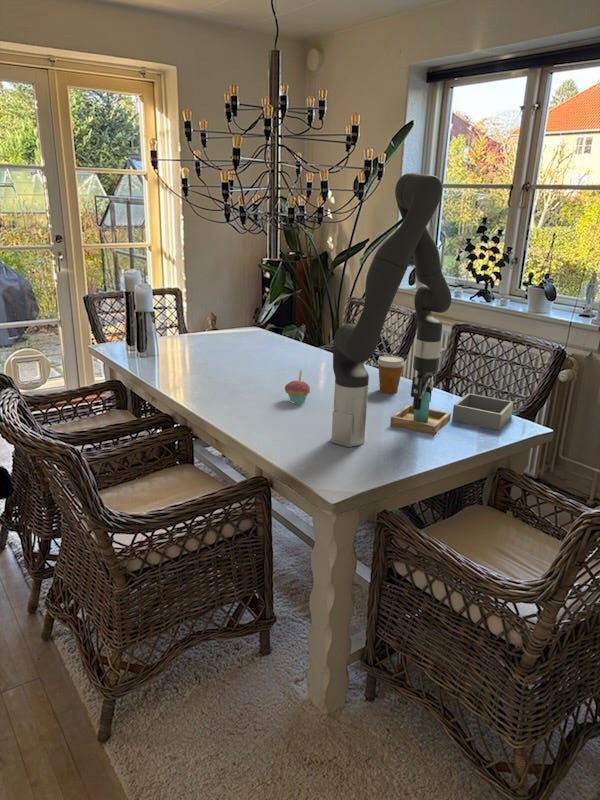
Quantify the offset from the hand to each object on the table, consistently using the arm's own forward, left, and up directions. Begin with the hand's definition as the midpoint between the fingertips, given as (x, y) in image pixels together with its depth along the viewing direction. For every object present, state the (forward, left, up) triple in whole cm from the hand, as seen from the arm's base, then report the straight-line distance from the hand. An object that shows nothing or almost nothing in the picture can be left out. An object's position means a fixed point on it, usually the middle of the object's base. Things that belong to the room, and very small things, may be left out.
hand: (421, 405), depth 187 cm
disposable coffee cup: (+25, +22, -6) cm, 34 cm away
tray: (0, 0, -6) cm, 6 cm away
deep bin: (+14, -15, -6) cm, 21 cm away
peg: (0, 0, -5) cm, 5 cm away
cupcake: (-5, +42, -6) cm, 43 cm away
